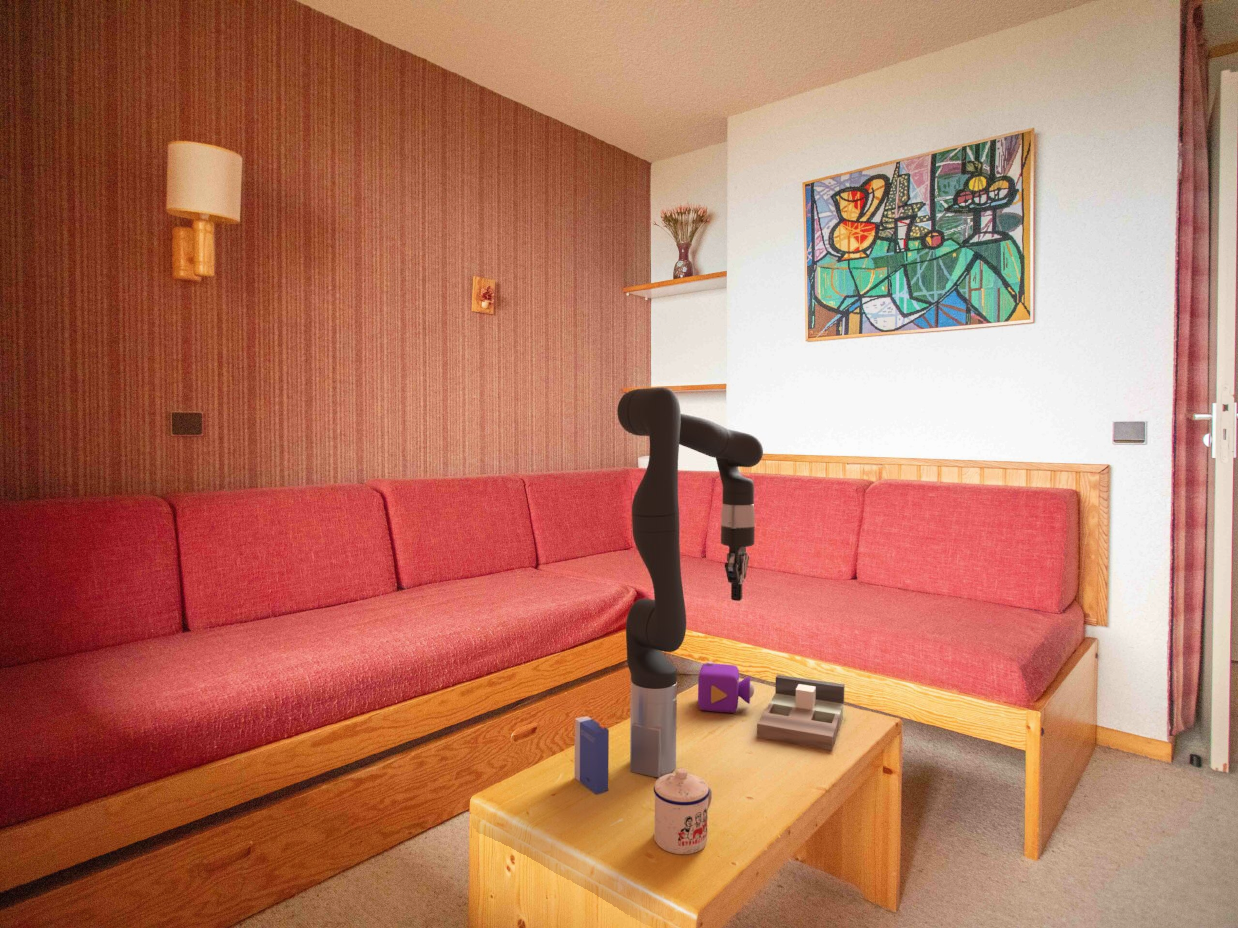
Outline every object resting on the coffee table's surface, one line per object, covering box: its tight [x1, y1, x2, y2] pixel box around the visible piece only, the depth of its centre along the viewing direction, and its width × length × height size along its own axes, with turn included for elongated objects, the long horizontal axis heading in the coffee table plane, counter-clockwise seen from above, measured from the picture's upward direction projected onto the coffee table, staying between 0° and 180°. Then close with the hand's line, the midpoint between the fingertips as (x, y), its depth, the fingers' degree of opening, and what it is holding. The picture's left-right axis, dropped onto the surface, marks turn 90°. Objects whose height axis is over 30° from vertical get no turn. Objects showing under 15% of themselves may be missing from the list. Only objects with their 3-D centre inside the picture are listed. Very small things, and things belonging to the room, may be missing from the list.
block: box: [795, 684, 816, 709], centre depth 166 cm, size 4×4×4 cm
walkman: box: [574, 715, 610, 796], centre depth 134 cm, size 8×3×12 cm, turn 34°
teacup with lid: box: [653, 767, 713, 855], centre depth 116 cm, size 12×9×12 cm
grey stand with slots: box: [756, 674, 845, 752], centre depth 162 cm, size 22×16×7 cm
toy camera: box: [697, 660, 755, 714], centre depth 172 cm, size 11×14×10 cm
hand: (736, 599), depth 160 cm, fingers closed
